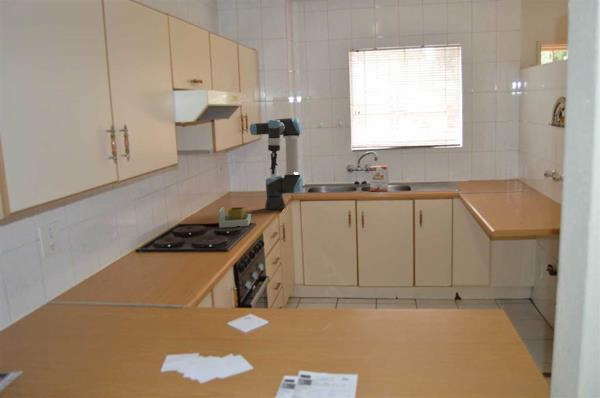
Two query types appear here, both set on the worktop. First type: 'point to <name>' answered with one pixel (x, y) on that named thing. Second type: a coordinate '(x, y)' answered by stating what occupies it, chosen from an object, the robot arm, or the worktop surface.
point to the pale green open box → (226, 222)
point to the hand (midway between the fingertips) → (273, 177)
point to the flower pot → (236, 213)
